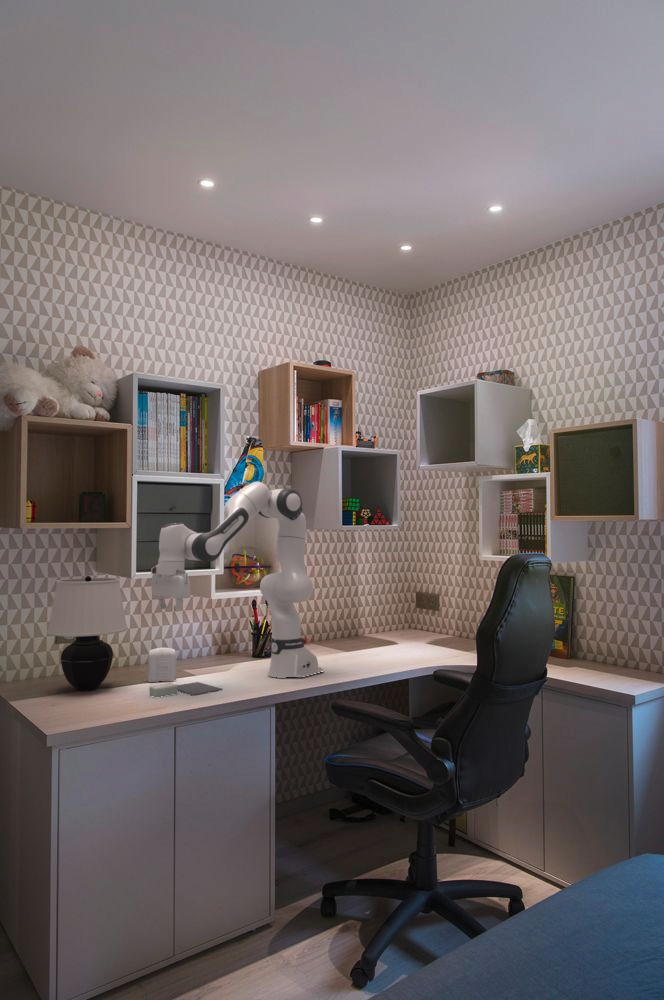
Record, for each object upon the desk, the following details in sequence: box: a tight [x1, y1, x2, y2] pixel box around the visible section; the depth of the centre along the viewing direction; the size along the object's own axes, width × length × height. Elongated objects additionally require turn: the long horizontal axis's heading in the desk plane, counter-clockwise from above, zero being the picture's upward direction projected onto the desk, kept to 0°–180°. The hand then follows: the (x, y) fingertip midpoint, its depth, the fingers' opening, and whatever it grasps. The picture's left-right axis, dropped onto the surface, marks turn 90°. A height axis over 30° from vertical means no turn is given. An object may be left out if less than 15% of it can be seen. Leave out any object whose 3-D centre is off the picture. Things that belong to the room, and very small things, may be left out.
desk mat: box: [177, 681, 223, 696], centre depth 248 cm, size 12×16×1 cm
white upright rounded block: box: [147, 647, 177, 683], centre depth 262 cm, size 10×4×12 cm, turn 104°
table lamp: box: [46, 575, 129, 692], centre depth 249 cm, size 27×27×40 cm
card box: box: [148, 682, 178, 698], centre depth 239 cm, size 8×4×4 cm, turn 133°
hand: (169, 610), depth 242 cm, fingers open, 8 cm apart
